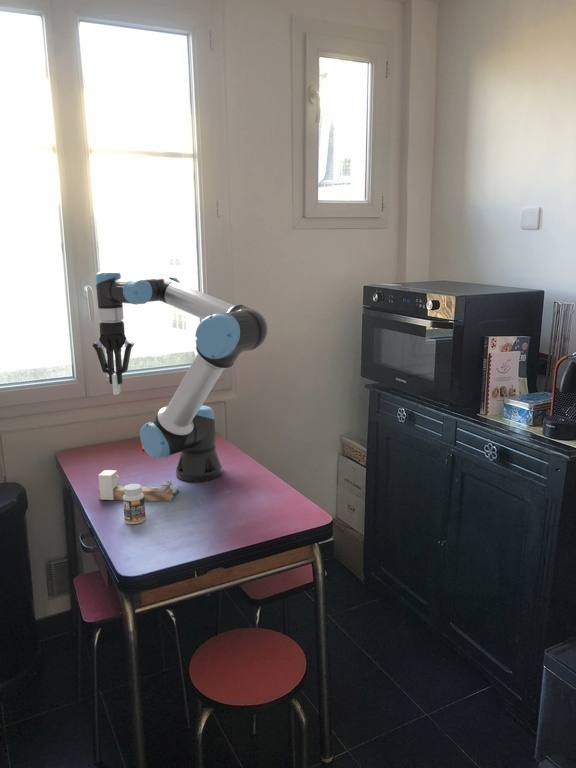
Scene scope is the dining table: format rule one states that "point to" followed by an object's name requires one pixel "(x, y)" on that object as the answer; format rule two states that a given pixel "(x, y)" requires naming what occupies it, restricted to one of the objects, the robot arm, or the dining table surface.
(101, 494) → the block
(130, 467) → the dining table surface
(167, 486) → the fixed leg
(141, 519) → the pill bottle
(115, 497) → the beam
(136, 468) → the dining table surface
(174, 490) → the hole plate
